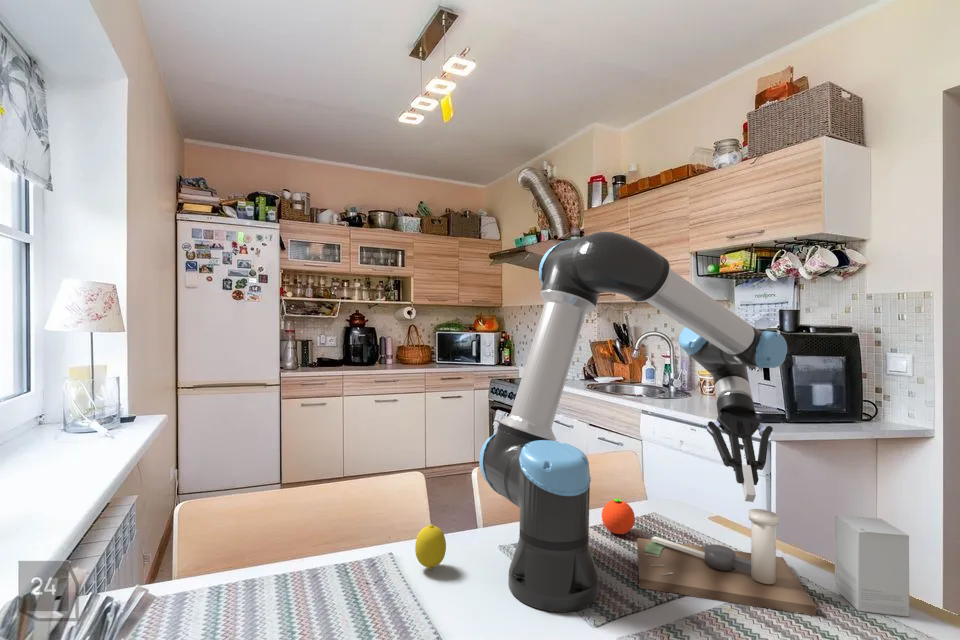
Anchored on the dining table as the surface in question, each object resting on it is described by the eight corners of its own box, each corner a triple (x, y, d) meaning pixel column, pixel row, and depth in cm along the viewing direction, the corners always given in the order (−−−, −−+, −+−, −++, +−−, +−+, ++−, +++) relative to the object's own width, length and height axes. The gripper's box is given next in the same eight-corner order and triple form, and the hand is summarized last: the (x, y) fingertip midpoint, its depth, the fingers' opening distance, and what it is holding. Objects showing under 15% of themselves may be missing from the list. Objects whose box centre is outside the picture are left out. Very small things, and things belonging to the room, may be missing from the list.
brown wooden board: (639, 587, 83) (639, 577, 83) (637, 545, 99) (637, 536, 99) (816, 616, 75) (816, 605, 75) (782, 565, 92) (782, 556, 92)
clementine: (598, 523, 110) (598, 492, 110) (630, 525, 109) (630, 493, 109) (603, 539, 102) (604, 504, 102) (638, 541, 101) (638, 506, 101)
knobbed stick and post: (647, 545, 95) (648, 488, 95) (659, 537, 99) (659, 483, 99) (773, 589, 80) (774, 521, 80) (781, 578, 83) (782, 513, 83)
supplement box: (911, 618, 75) (911, 535, 75) (856, 611, 77) (857, 531, 77) (882, 592, 83) (882, 517, 83) (833, 587, 84) (833, 513, 84)
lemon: (409, 573, 87) (410, 527, 87) (424, 559, 92) (424, 516, 92) (437, 579, 84) (437, 533, 85) (450, 565, 90) (451, 521, 90)
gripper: (763, 413, 112) (784, 511, 96) (701, 409, 116) (711, 503, 100) (770, 393, 107) (793, 493, 91) (705, 389, 111) (716, 484, 95)
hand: (750, 498), depth 95 cm, fingers closed
